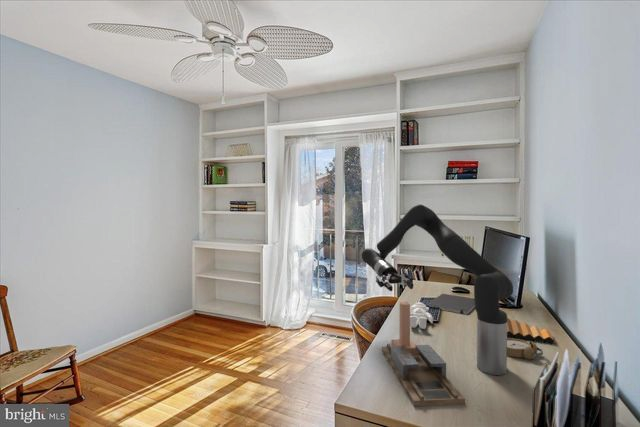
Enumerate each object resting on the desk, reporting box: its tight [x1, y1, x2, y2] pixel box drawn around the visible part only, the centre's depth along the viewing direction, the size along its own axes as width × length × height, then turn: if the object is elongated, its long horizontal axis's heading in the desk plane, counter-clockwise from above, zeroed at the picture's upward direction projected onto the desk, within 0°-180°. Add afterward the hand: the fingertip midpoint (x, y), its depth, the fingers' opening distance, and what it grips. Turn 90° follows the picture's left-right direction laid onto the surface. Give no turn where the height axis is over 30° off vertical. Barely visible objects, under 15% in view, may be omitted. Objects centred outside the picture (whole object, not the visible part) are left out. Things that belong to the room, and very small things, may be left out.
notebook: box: [425, 293, 475, 315], centre depth 190 cm, size 22×2×28 cm
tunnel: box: [390, 344, 447, 380], centre depth 112 cm, size 14×14×5 cm
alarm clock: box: [507, 337, 544, 361], centre depth 127 cm, size 11×5×15 cm
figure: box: [410, 301, 434, 330], centre depth 162 cm, size 13×8×25 cm
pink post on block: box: [390, 301, 419, 356], centre depth 125 cm, size 8×8×18 cm
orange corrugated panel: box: [507, 317, 555, 345], centre depth 152 cm, size 25×3×25 cm
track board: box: [381, 343, 466, 407], centre depth 112 cm, size 36×15×2 cm, turn 4°
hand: (402, 288), depth 129 cm, fingers open, 8 cm apart
